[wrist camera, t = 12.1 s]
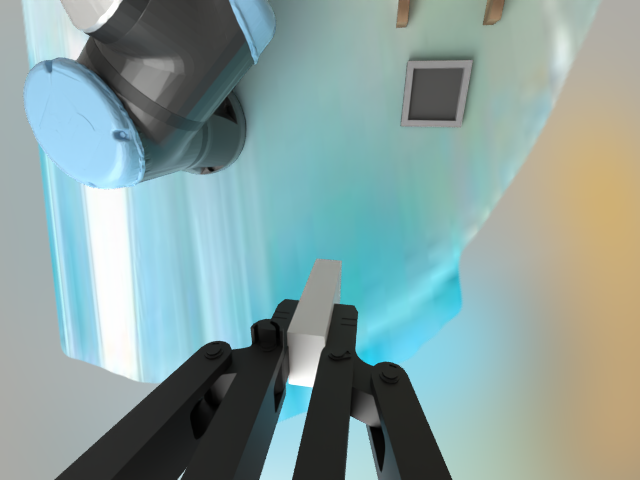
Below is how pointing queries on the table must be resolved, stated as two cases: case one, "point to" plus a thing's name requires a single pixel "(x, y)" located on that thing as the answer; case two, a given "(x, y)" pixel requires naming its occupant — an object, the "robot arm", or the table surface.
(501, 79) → the table surface
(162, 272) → the table surface
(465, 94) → the pad
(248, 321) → the table surface
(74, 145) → the robot arm
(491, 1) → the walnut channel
